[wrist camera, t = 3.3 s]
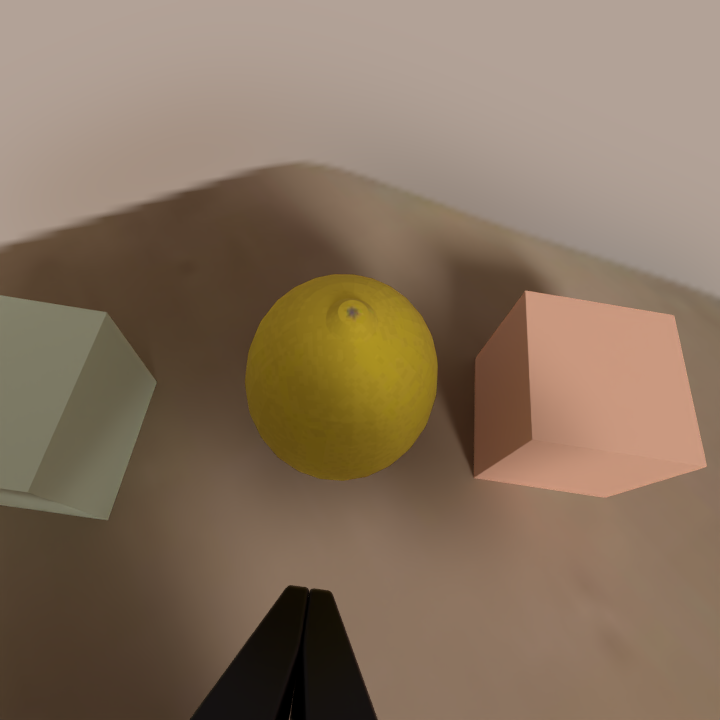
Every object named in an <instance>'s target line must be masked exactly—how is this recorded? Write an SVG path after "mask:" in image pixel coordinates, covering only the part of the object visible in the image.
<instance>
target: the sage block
mask: <svg viewBox="0 0 720 720" xmlns="http://www.w3.org/2000/svg"><path fill="white" fill-rule="evenodd" d="M156 383H157V381H156V380H155V379H154V377H153V376H152V374H151V373H150V372H149V370H148V369H147V367H146V366H145V365H144V363H143V362H142V360H141V359H140V358H139V356H138V355H137V354H136V352H135V351H134V349H133V348H132V347H131V345H130V344H129V342H128V341H127V340H126V338H125V337H124V335H123V334H122V333H121V331H120V330H119V328H118V327H117V326H116V324H115V323H114V321H113V320H112V319H111V317H110V316H109V314H108V313H107V312H102V311H96V310H89V309H83V308H77V307H71V306H64V305H58V304H52V303H46V302H39V301H33V300H27V299H20V298H14V297H8V296H2V295H0V505H3V506H10V507H17V508H24V509H31V510H38V511H45V512H53V513H60V514H67V515H74V516H81V517H88V518H95V519H102V520H108V519H109V516H110V513H111V510H112V508H113V505H114V502H115V499H116V496H117V493H118V491H119V488H120V485H121V482H122V479H123V476H124V474H125V471H126V468H127V465H128V462H129V459H130V457H131V454H132V451H133V448H134V445H135V442H136V440H137V437H138V434H139V431H140V428H141V426H142V423H143V420H144V417H145V414H146V411H147V409H148V406H149V403H150V400H151V397H152V394H153V392H154V389H155V386H156Z"/></svg>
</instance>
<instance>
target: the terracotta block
mask: <svg viewBox="0 0 720 720" xmlns="http://www.w3.org/2000/svg"><path fill="white" fill-rule="evenodd" d="M704 467H707V464H706V460H705V455H704V450H703V446H702V441H701V437H700V432H699V427H698V423H697V418H696V414H695V409H694V404H693V400H692V395H691V391H690V386H689V381H688V377H687V372H686V368H685V363H684V358H683V354H682V349H681V345H680V340H679V335H678V331H677V326H676V322H675V317H674V315H668V314H662V313H656V312H650V311H645V310H639V309H633V308H627V307H621V306H615V305H609V304H603V303H597V302H591V301H585V300H579V299H573V298H567V297H561V296H555V295H549V294H543V293H537V292H531V291H525V292H524V293H523V294H522V296H521V297H520V298H519V300H518V301H517V302H516V304H515V305H514V307H513V308H512V309H511V311H510V312H509V313H508V315H507V316H506V317H505V319H504V320H503V321H502V323H501V324H500V325H499V327H498V328H497V330H496V331H495V332H494V334H493V335H492V336H491V338H490V339H489V340H488V342H487V343H486V344H485V346H484V347H483V348H482V350H481V351H480V352H479V354H478V355H477V357H476V358H475V424H474V478H478V479H484V480H491V481H497V482H504V483H511V484H517V485H524V486H531V487H537V488H544V489H551V490H557V491H564V492H571V493H577V494H584V495H591V496H597V497H604V498H606V497H609V496H612V495H615V494H619V493H622V492H625V491H629V490H632V489H635V488H638V487H642V486H645V485H648V484H652V483H655V482H658V481H661V480H665V479H668V478H671V477H675V476H678V475H681V474H684V473H688V472H691V471H694V470H698V469H701V468H704Z"/></svg>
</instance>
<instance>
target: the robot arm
mask: <svg viewBox="0 0 720 720" xmlns="http://www.w3.org/2000/svg"><path fill="white" fill-rule="evenodd" d="M308 596H309V597H308ZM294 686H295V687H294ZM293 692H294V693H293ZM292 699H293V700H292ZM291 705H292V706H291ZM290 711H291V714H290ZM289 716H290V720H378V719H377V716H376V713H375V711H374V708H373V705H372V702H371V699H370V697H369V694H368V691H367V688H366V686H365V683H364V680H363V677H362V674H361V672H360V669H359V666H358V663H357V661H356V658H355V655H354V652H353V649H352V647H351V644H350V641H349V638H348V636H347V633H346V630H345V627H344V624H343V622H342V619H341V616H340V613H339V611H338V608H337V605H336V602H335V599H334V597H333V594H332V593H331V592H330V591H328V590H321V589H314V588H313V589H311V590H310V592H309V589H308V588H306V587H300V586H293V585H290V586H288V587H287V588H286V589H285V590H284V591H283V593H282V594H281V595H280V597H279V598H278V600H277V601H276V602H275V604H274V605H273V606H272V608H271V609H270V610H269V612H268V613H267V615H266V616H265V617H264V619H263V620H262V621H261V623H260V624H259V625H258V627H257V628H256V630H255V631H254V632H253V634H252V635H251V636H250V638H249V639H248V641H247V642H246V643H245V645H244V646H243V647H242V649H241V650H240V651H239V653H238V654H237V656H236V657H235V658H234V660H233V661H232V662H231V664H230V665H229V666H228V668H227V669H226V671H225V672H224V673H223V675H222V676H221V677H220V679H219V680H218V681H217V683H216V684H215V686H214V687H213V688H212V690H211V691H210V692H209V694H208V695H207V697H206V698H205V699H204V701H203V702H202V703H201V705H200V706H199V707H198V709H197V710H196V712H195V713H194V714H193V716H192V717H191V718H190V720H289Z"/></svg>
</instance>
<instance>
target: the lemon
mask: <svg viewBox="0 0 720 720" xmlns="http://www.w3.org/2000/svg"><path fill="white" fill-rule="evenodd" d="M437 371H438V362H437V356H436V351H435V347H434V342H433V338H432V335H431V333H430V331H429V329H428V327H427V325H426V323H425V321H424V319H423V317H422V316H421V314H420V313H419V312H418V311H417V310H416V309H415V308H414V306H413V305H412V304H411V303H410V302H409V301H408V300H407V298H405V297H404V296H403V295H401V294H400V293H399V292H397V291H396V290H395V289H393V288H392V287H391V286H388V285H386V284H384V283H382V282H379V281H377V280H375V279H373V278H368V277H363V276H359V275H354V274H333V275H328V276H323V277H318V278H314V279H312V280H310V281H307V282H305V283H303V284H301V285H299V286H296V287H294V288H293V289H292V290H290V291H289V292H288V293H286V294H285V295H284V296H282V297H281V298H280V299H278V300H277V301H276V303H275V304H274V305H273V306H272V308H271V309H270V310H269V311H268V313H267V314H266V315H265V317H264V318H263V319H262V320H261V322H260V324H259V326H258V329H257V331H256V334H255V336H254V339H253V341H252V343H251V346H250V349H249V353H248V359H247V367H246V376H245V388H246V394H247V400H248V406H249V412H250V415H251V417H252V419H253V421H254V423H255V425H256V428H257V430H258V432H259V434H260V436H261V438H262V439H263V440H264V441H265V443H266V444H267V445H268V446H269V447H270V448H271V450H272V451H273V452H274V453H275V454H276V455H277V457H278V458H280V459H281V460H283V461H284V462H286V463H287V464H289V465H290V466H292V467H293V468H295V469H296V470H297V471H299V472H302V473H305V474H308V475H311V476H314V477H316V478H319V479H328V480H341V481H344V480H350V479H356V478H362V477H367V476H369V475H371V474H373V473H376V472H378V471H380V470H382V469H384V468H386V467H388V466H390V465H391V464H392V463H394V462H395V461H396V460H397V459H398V458H400V457H401V456H402V455H403V454H404V453H406V452H407V451H408V450H409V449H410V448H411V447H412V445H413V444H414V442H415V441H416V439H417V438H418V436H419V435H420V434H421V432H422V431H423V429H424V428H425V426H426V424H427V421H428V418H429V415H430V412H431V409H432V407H433V404H434V401H435V398H436V391H437Z"/></svg>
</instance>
